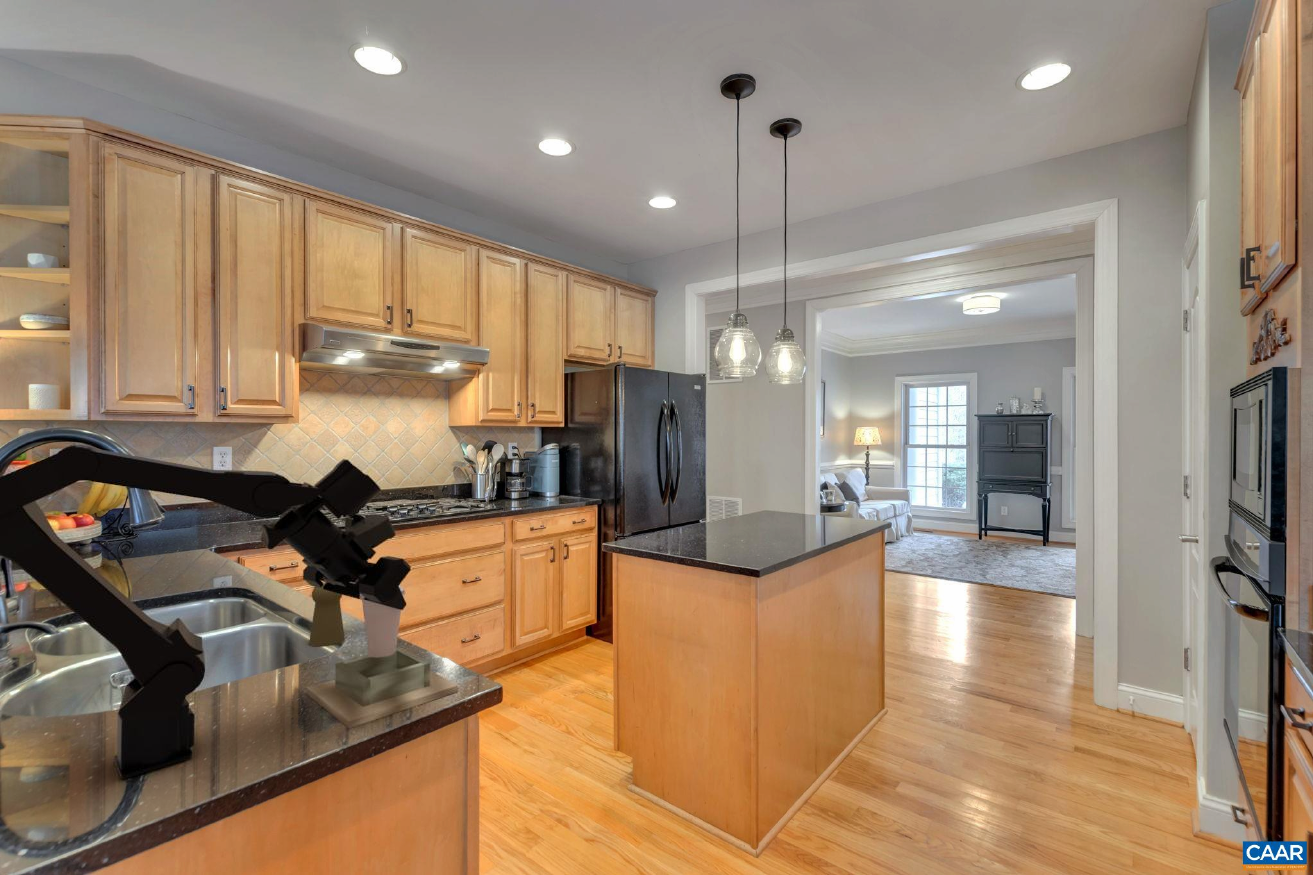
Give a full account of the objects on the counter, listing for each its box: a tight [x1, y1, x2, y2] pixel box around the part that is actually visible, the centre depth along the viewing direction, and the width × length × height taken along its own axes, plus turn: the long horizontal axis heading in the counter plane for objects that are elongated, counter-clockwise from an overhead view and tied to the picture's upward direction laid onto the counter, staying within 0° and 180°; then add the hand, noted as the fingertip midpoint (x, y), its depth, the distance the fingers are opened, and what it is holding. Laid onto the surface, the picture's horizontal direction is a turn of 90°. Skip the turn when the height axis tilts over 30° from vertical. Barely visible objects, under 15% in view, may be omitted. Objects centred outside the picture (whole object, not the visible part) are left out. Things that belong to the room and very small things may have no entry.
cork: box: [308, 582, 346, 648], centre depth 115 cm, size 6×6×11 cm
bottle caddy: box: [306, 647, 459, 729], centre depth 92 cm, size 16×16×4 cm
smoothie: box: [359, 585, 406, 658], centre depth 92 cm, size 6×6×14 cm
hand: (390, 603), depth 93 cm, fingers closed on smoothie, 6 cm apart
